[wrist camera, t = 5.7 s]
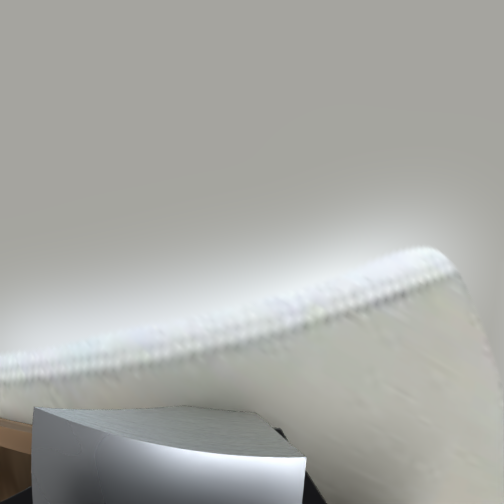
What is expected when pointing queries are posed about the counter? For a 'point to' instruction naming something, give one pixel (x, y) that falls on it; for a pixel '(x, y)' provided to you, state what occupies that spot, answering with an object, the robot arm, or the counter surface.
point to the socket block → (14, 457)
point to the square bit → (161, 458)
